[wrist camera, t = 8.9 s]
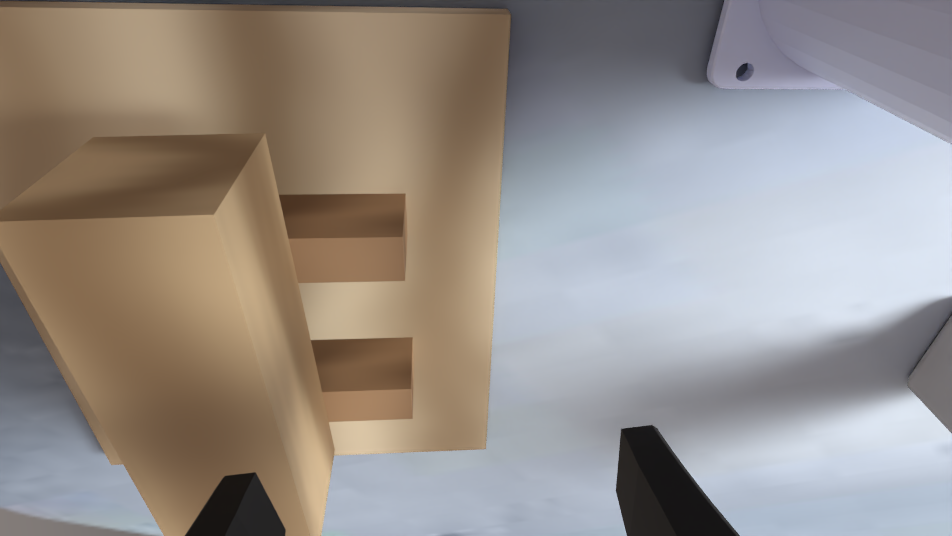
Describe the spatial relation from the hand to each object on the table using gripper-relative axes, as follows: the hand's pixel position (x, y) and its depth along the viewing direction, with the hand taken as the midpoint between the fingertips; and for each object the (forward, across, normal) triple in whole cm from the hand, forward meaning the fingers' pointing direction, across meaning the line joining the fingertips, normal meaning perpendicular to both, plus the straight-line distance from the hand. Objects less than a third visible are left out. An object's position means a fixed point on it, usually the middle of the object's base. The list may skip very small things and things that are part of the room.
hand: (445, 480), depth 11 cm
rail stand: (+10, +6, +1) cm, 12 cm away
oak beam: (+6, +6, +1) cm, 9 cm away
